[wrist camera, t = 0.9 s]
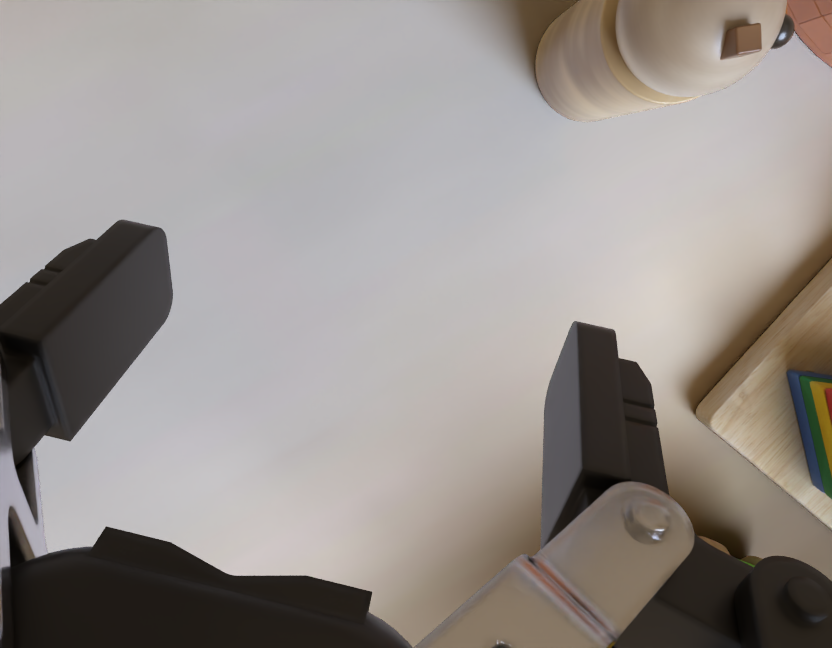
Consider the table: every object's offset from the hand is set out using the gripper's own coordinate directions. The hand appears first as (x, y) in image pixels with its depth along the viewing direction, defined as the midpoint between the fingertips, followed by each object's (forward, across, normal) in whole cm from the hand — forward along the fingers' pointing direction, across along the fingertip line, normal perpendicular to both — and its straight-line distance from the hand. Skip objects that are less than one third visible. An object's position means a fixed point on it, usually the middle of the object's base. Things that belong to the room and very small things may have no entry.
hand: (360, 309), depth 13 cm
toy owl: (+24, -6, +1) cm, 25 cm away
